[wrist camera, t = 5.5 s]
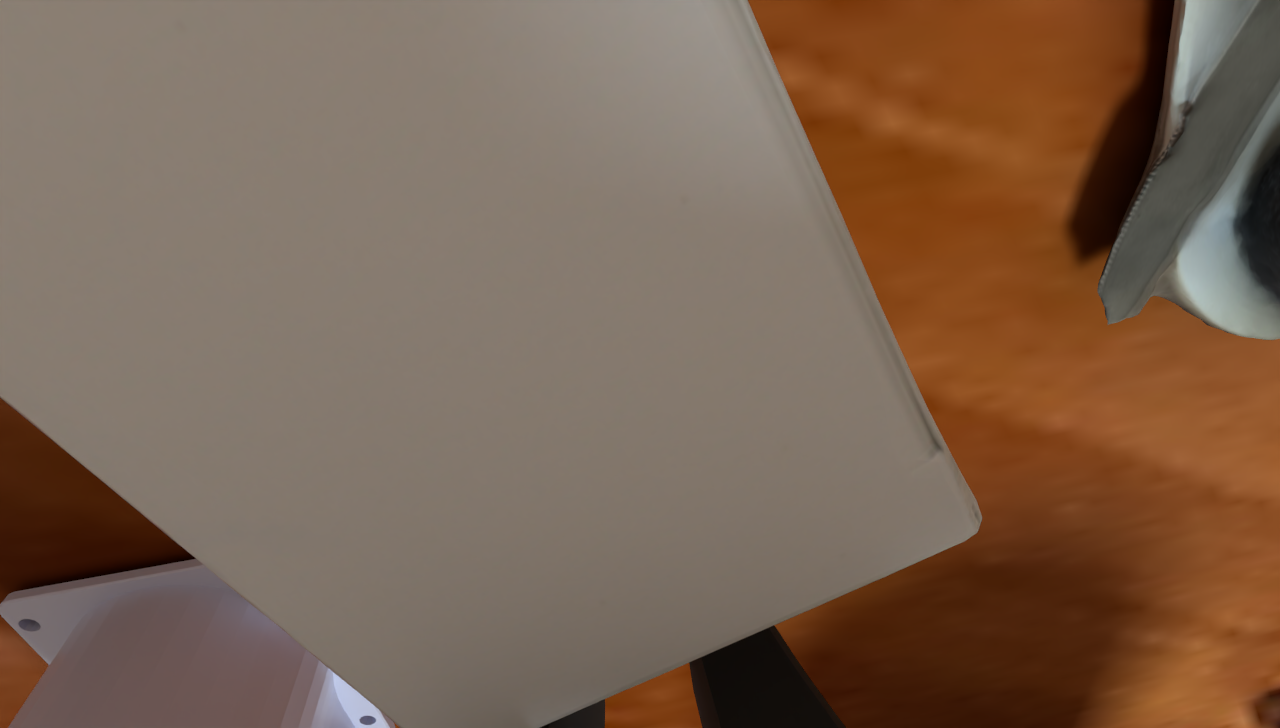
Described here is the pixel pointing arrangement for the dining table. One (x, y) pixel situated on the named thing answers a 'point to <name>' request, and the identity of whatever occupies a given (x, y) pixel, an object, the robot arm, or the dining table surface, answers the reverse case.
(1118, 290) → the salad plate
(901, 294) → the dining table surface
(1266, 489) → the dining table surface
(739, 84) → the small box
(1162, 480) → the dining table surface
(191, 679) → the robot arm
